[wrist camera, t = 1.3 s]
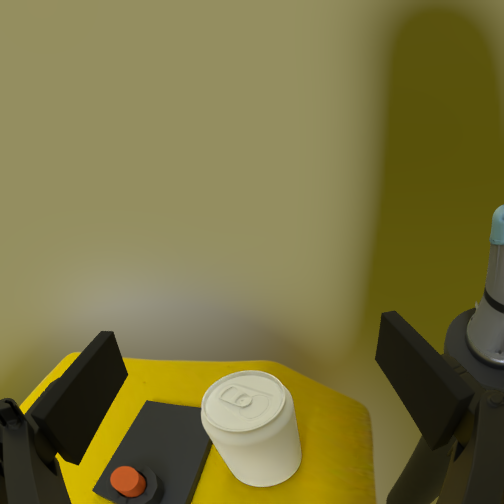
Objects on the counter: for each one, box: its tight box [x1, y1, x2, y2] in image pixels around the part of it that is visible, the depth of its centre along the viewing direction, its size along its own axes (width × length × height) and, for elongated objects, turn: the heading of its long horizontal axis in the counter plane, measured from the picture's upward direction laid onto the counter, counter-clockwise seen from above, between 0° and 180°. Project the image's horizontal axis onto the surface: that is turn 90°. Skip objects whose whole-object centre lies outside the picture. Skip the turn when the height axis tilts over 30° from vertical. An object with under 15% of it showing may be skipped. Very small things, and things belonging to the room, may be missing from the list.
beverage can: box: [201, 371, 302, 487], centre depth 22 cm, size 8×8×12 cm
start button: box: [110, 466, 146, 497], centre depth 19 cm, size 4×4×2 cm
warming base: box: [92, 400, 212, 504], centre depth 25 cm, size 18×12×3 cm, turn 170°
